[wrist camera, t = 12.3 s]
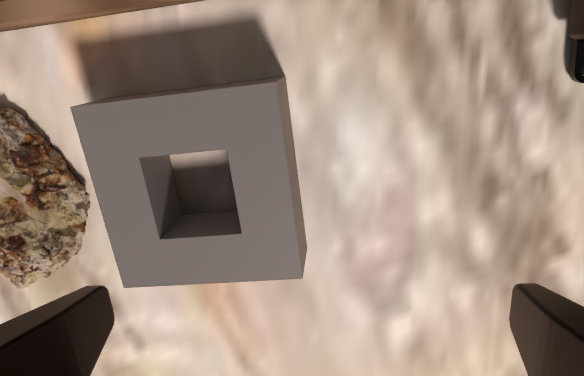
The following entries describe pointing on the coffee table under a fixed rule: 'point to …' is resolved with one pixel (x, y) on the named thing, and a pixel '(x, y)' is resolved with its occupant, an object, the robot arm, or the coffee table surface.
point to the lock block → (163, 194)
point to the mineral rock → (36, 204)
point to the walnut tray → (68, 10)
